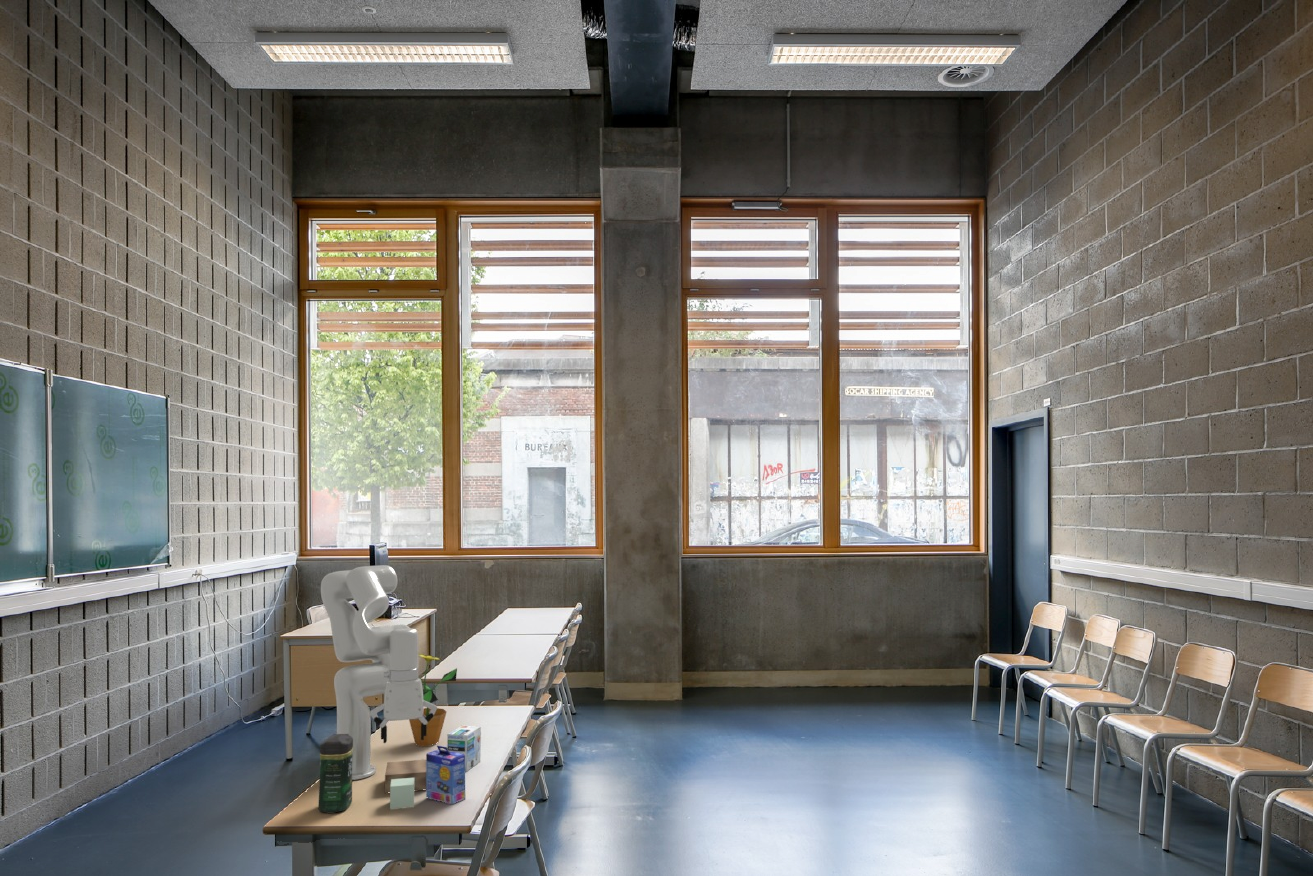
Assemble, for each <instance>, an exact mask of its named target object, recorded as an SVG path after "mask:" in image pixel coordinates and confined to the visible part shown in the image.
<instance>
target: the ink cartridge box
mask: <svg viewBox="0 0 1313 876" xmlns="http://www.w3.org/2000/svg"><path fill="white" fill-rule="evenodd" d="M436 748H437V749H435V750H433V751H430V752H427V753H426V758H425V760H426V790H425V791H426V792H425V793H426V794H425V795H426V797H428V798H431V799H430V800H432V799H434V800H433V801H436V800H437V801H436V802H440V801H442V802H441V803H444V802H445V803H444V804H447V805H454V804H456V802H457V803H459V802H461V801H464V800H466V771H465V755H464V754H462V753H457V752H450V751H449V750H448V749H447V746H442V745H436ZM458 801H459V802H458Z"/></svg>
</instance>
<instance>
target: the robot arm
mask: <svg viewBox="0 0 1313 876" xmlns="http://www.w3.org/2000/svg"><path fill="white" fill-rule="evenodd" d="M397 586H398V576H397V573H396V571H395V569H394V568H393V566H390V565H388V564H382V565H381V564H380V565H365V566H358V567H355V568H353V569H349V570H347V569H345V570H338V571H337V570H336V571H333V572H329V573H327V574H326V575H325V576H324V577H323V578H322V580H321V583H320V595H321V596H320V597H321V601H322V603H323V606H324V610H325V611H326V613H327V616H328V617H329V621H330V629H331V636H332V643H333V650H334V654H335V657H336V658H337V660H338V661H339V662H340V663H341V662H342V663H351V662H352V663H353V662H354V663H355V662H362V661H368V660H371V661H372V662H370V663H362V664H361V663H360V664H355V665H349V666H343V668H340V669H339V670H338V671H337V672H336V673H335V675H334V678H333V680H334V681H333V683H334V684H333V685H334V692H335V699H336V701H335V702H336V734H349V735H350V736H351V737H352V738H353V761H352V781H356V780H360V779H361V780H362V779H365V778H369V777H370V776H373V775H374V774H375V773H376V769H377V768H376V767H375V765H373V764H371V739H372V738H371V736H372V735H371V731H372V729H371V728H372V722H371V721H372V719H373V722H374V723H375V724H377V725H378V726H379V728H380V739H381V740H383V742H382V743H383V744H386V743H387V741H388V726H387V724H388V723H389V722H394V721H407V720H408V721H409V720H410V719H419V720H420V721H421V722H422V723H421V740H424V736H426V724H427V723H428V722H429V721H430V720H431V719H432V718H433V716H434V714H435V712H436V710H437V708H438V706H437V705H436V704H435V703H433V702H432V703H429V702H427V701H425V700H423V693H424V687H423V685H422V684H423V682H422V680H421V679H422V678H420V677H419V656H418V654H419V632H418V630H417V629H415V628H412V627H409V626H408V625H406V624H393V625H383V626H375V627H374V626H373V627H370V626H369V623H370V622H372V621H374V620H376V619H378V618H379V617H381V616H382V615H383V614H384V613H386V611H387V610H388V608H389V605H390V600H389V597H388V594H392V593H394V591H395V590H396V589H397ZM347 599H353V601H354V602H355V605H356V606H357V608H355V606H354V605H352V603H350V602H349V601H348V600H347ZM357 609H358V610H357ZM378 695H383V696H384V697H383V700H384V701H383V703H381V704H380V705H377V706H376V707H374V708H372V709H371V710H370V707H369V706H368V705H367V703H366V702H365V701H364V700H363V699H364V698H367V697H373V696H378ZM424 708H429V709H431V711H430V713H429V714H428V715H427V716H426V717H425V716H424V715H423V710H424ZM382 710H383V717H384V718H380V716H378V713H379V712H381V711H382Z"/></svg>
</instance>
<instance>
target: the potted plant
mask: <svg viewBox="0 0 1313 876" xmlns="http://www.w3.org/2000/svg"><path fill="white" fill-rule="evenodd" d="M418 657H421V658H423V659H424V660H425V661H426V669H425V672H424V679H423V678H420V679H421V682H422V687H423V700H425V701H427V702H429V703H432V704H433V703H435V702H437V701H439V699H438V697H437V696H436V694H435V691H434V689H435V688H436V687H437V686H438V685H439V684H440V683H441V682H456V681H457V672H458V668H457V667H456V668H455V669H452V670H451V671H449V672H447V673H445V674H443V676H442V678H441V680H440V681H439V682H438V683H436V684H435V685H434V687H432V688H431V687H429V686H428V685H426V679H427V672H428V664H429V662H432V661H434V660H438V661H441V659H442V658H441V657H436V656H432V655H427V654H420V653H418ZM430 711H431V709H429V708H427V707H424V710H423V715H424V716H425V717H426V716H427V715H428V714H429V713H430ZM446 715H447V711H446V710H445V709H444V708H439V707H437V710H436V712H435V714H434V716H433V718H432V719H431V720H430V721H429V722H428V723H427V724H426V736H424V740H421V723H422V722H421V721H420V720H419V719H410V720H408V722H409V725H410V729H411V733H412V737H413V739H414V743H415V744H417V745H416V746H418V745H419V746H418V747H429V746H428V745H432V744H435V745H437V744H438V743H439V741H440V737H441V734H442V730H443V727H444V723H445V720H446ZM437 742H438V743H437ZM436 743H437V744H436ZM432 746H433V745H432Z"/></svg>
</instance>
